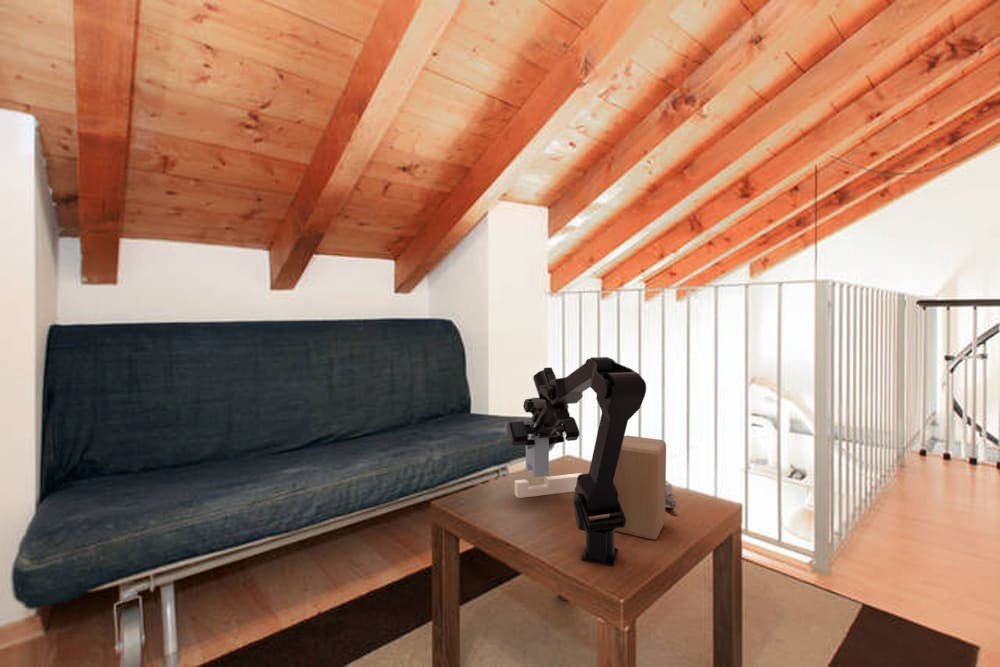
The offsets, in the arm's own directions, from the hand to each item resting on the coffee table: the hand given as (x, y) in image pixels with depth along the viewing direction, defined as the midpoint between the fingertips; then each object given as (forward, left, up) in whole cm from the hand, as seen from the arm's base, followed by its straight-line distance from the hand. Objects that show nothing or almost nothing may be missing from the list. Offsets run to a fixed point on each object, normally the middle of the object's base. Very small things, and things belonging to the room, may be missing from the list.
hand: (535, 446), depth 126 cm
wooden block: (-11, -29, -13) cm, 33 cm away
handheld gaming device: (+16, -28, -13) cm, 35 cm away
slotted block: (-1, -1, -7) cm, 7 cm away
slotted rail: (+2, -4, -13) cm, 13 cm away
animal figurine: (+4, -33, -13) cm, 36 cm away
